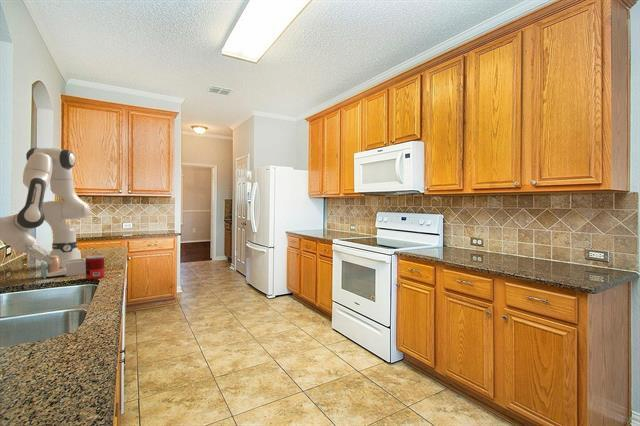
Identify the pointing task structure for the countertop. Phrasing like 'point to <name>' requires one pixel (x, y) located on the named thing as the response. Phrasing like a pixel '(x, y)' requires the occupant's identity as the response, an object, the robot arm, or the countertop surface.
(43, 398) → the countertop surface
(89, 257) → the canned food
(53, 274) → the tray
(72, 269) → the housing
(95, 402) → the countertop surface
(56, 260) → the jar
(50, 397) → the countertop surface
